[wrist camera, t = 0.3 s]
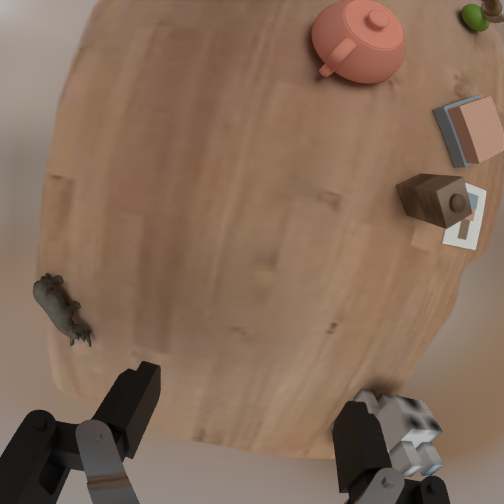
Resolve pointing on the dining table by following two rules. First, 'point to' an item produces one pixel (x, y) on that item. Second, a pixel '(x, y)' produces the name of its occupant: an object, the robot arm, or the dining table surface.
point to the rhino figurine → (59, 308)
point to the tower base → (471, 130)
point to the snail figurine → (482, 14)
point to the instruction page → (468, 222)
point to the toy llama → (405, 431)
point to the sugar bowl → (359, 41)
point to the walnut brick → (435, 199)
